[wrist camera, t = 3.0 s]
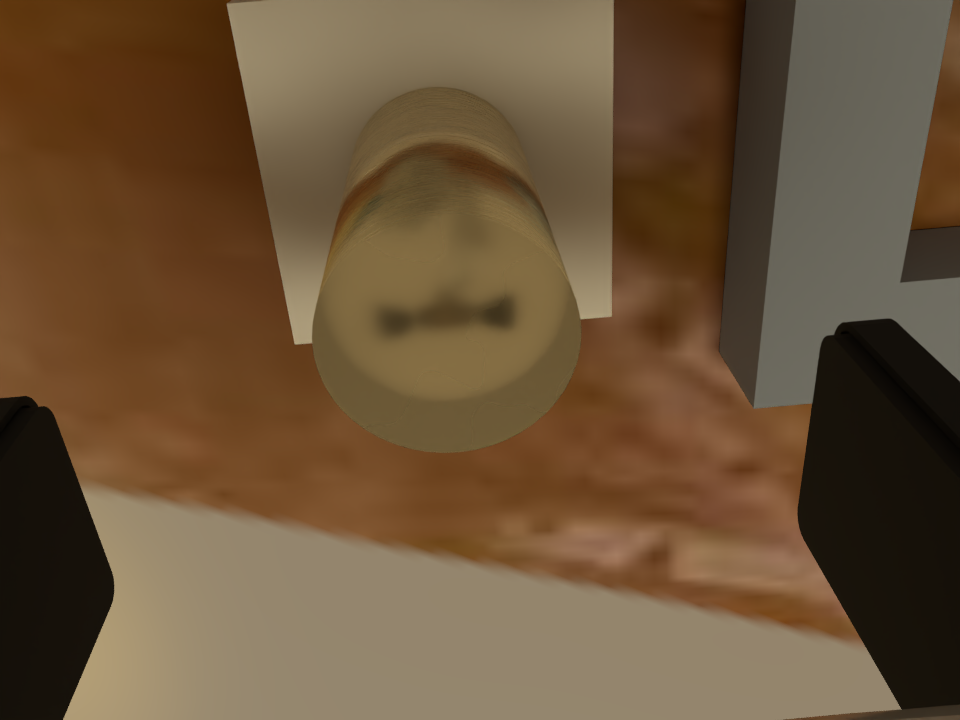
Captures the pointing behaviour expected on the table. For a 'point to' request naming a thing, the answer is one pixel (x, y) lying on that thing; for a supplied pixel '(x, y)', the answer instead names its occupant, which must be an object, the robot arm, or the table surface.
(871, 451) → the robot arm
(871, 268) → the hole plate
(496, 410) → the brass peg
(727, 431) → the table surface
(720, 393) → the table surface
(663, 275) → the table surface
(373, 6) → the beige square plate
